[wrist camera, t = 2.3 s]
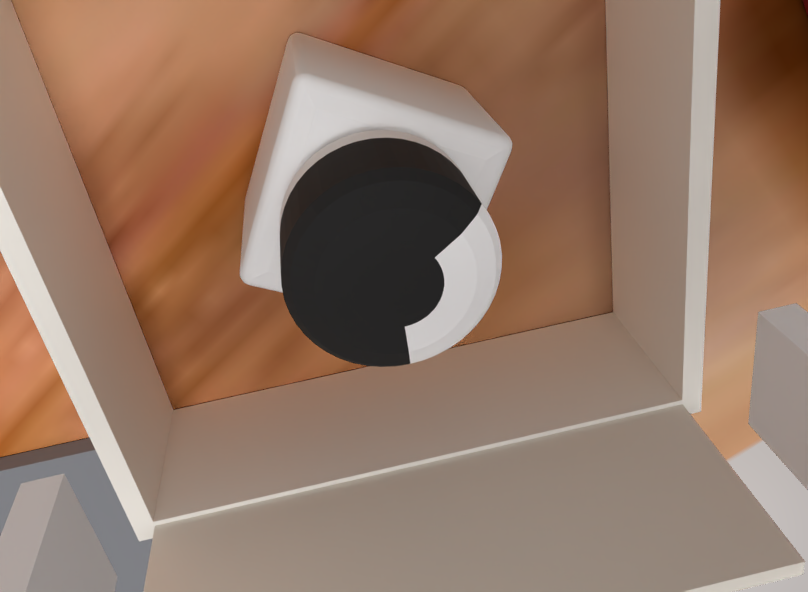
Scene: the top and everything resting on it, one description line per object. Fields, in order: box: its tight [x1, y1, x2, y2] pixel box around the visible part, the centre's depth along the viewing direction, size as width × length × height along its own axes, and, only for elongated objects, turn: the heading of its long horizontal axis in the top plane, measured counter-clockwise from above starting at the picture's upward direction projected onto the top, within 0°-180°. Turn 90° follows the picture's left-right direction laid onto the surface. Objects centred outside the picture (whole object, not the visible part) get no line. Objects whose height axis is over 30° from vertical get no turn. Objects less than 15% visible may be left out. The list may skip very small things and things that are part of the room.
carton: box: [0, 0, 805, 592], centre depth 24 cm, size 23×23×15 cm
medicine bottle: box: [240, 33, 512, 367], centre depth 25 cm, size 7×7×12 cm
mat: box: [0, 438, 153, 592], centre depth 37 cm, size 12×12×1 cm
